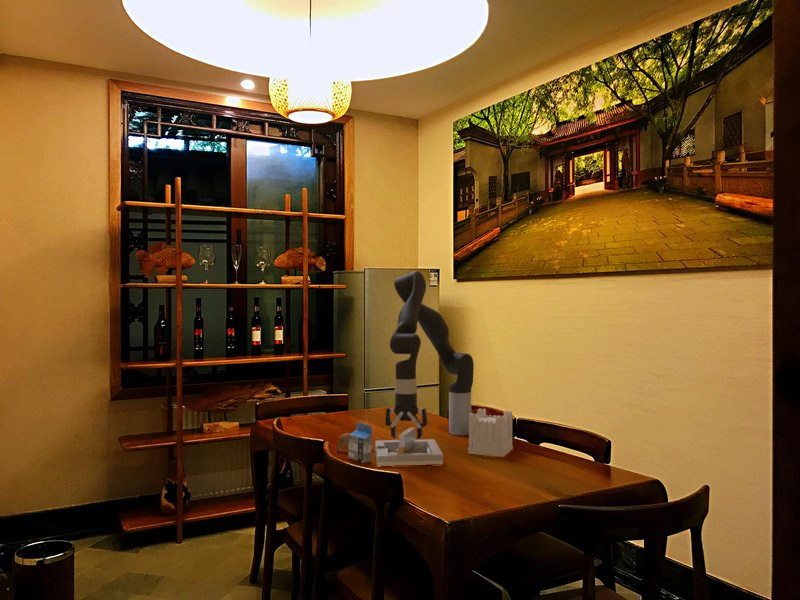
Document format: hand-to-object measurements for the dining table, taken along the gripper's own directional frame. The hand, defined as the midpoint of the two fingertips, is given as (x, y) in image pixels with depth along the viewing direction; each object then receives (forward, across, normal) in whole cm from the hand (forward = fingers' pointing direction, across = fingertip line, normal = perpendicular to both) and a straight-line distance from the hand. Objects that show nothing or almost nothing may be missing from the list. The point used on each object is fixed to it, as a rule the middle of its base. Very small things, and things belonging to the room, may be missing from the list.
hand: (406, 438), depth 207 cm
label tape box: (+8, +16, +2) cm, 18 cm away
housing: (+8, 0, -4) cm, 9 cm away
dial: (+6, 0, -4) cm, 7 cm away
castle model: (+8, -27, -16) cm, 33 cm away
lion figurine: (+8, +21, -10) cm, 25 cm away
